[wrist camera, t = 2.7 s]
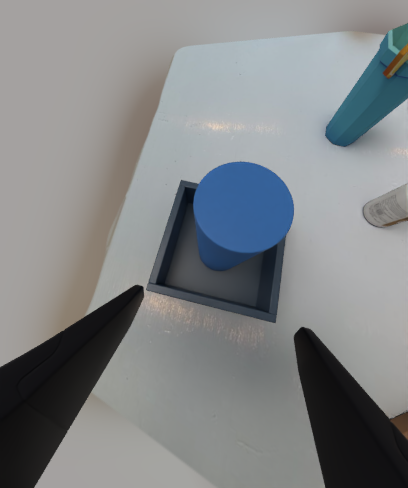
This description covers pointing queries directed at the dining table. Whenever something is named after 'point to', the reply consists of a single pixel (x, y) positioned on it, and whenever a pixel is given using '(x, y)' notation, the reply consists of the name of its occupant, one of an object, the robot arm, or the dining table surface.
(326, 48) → the dining table surface
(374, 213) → the pill bottle
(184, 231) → the tray
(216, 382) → the dining table surface
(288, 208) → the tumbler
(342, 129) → the cup
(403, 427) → the trivet
